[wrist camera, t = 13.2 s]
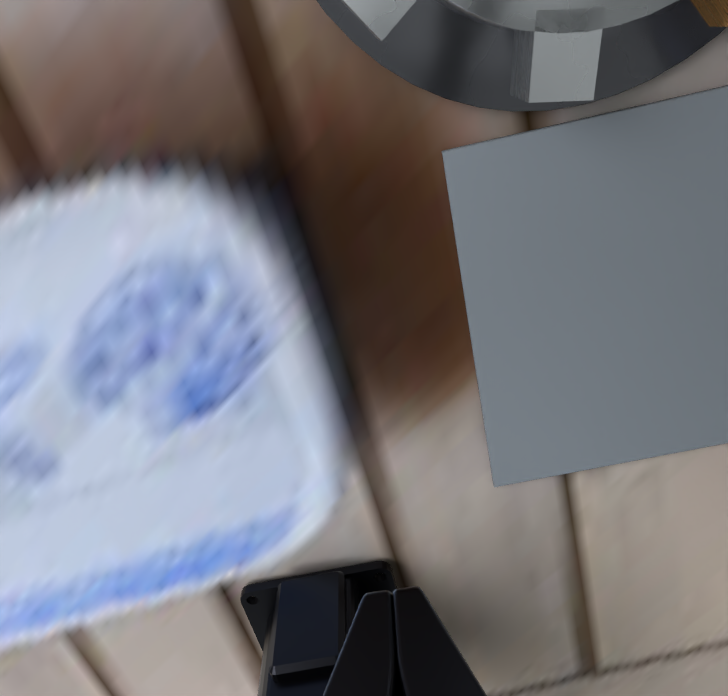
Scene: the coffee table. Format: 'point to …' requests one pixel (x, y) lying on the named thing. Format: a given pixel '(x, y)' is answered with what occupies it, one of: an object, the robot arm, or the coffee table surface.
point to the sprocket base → (494, 52)
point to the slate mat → (598, 285)
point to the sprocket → (543, 35)
